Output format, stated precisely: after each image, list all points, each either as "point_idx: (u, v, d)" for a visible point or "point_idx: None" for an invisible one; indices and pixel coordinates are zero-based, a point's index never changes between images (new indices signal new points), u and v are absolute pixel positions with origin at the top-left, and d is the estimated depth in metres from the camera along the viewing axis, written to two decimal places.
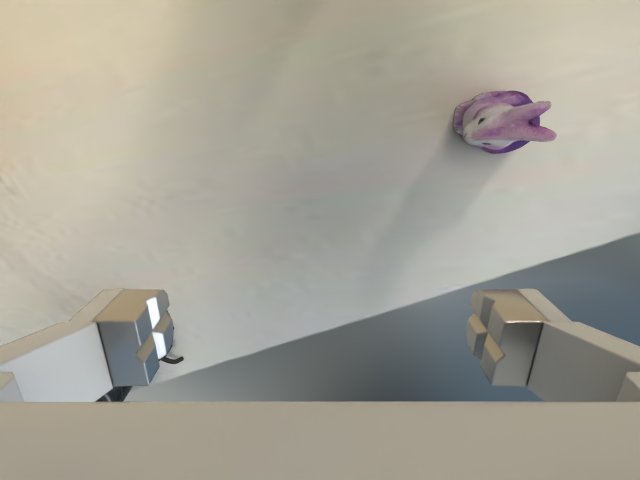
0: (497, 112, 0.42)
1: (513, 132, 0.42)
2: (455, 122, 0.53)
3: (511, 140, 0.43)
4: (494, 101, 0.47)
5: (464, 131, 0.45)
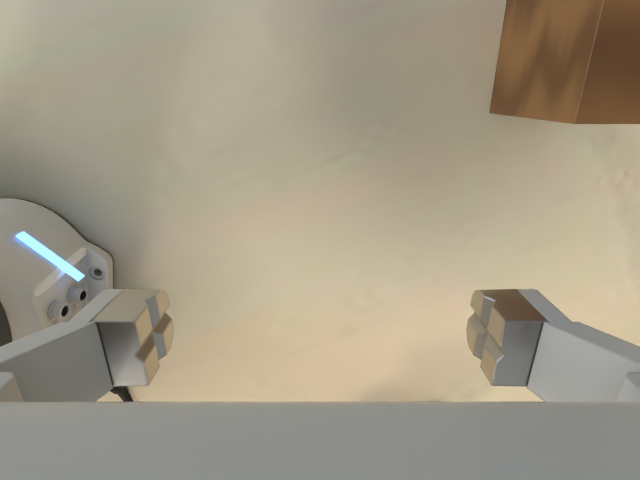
0: None
1: None
2: None
3: None
4: None
5: None
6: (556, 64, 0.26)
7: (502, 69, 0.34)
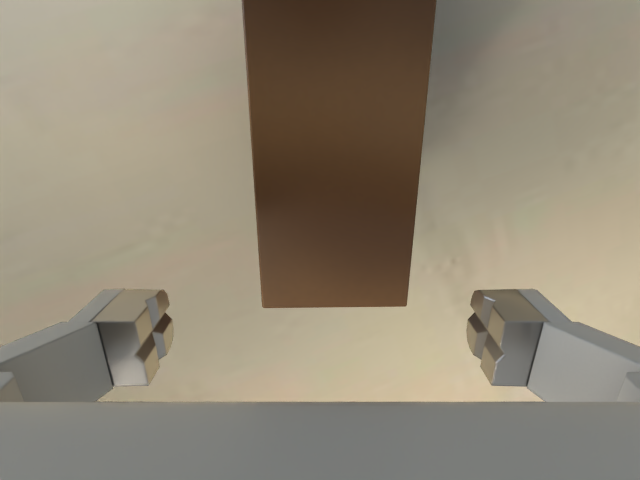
0: None
1: None
2: None
3: None
4: None
5: None
6: None
7: None
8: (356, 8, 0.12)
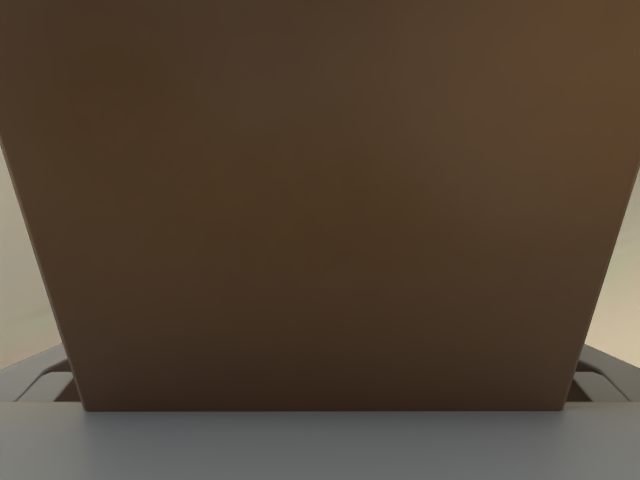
0: None
1: None
2: None
3: None
4: None
5: None
6: None
7: None
8: None
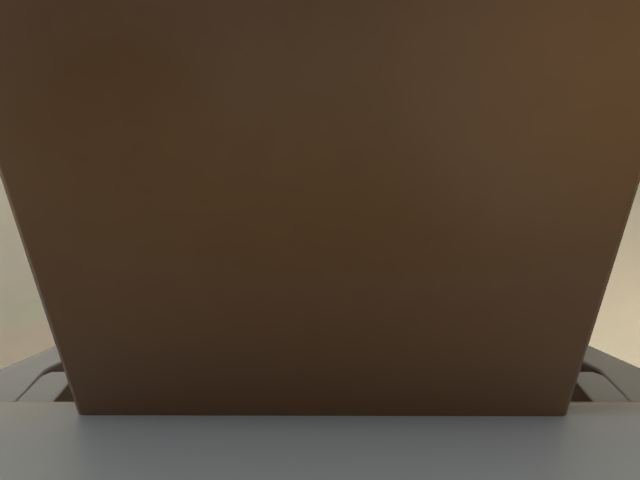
0: None
1: None
2: None
3: None
4: None
5: None
6: None
7: None
8: None
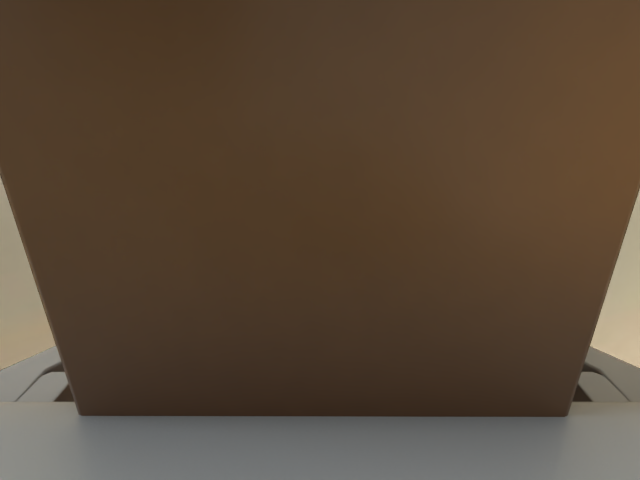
0: None
1: None
2: None
3: None
4: None
5: None
6: None
7: None
8: None
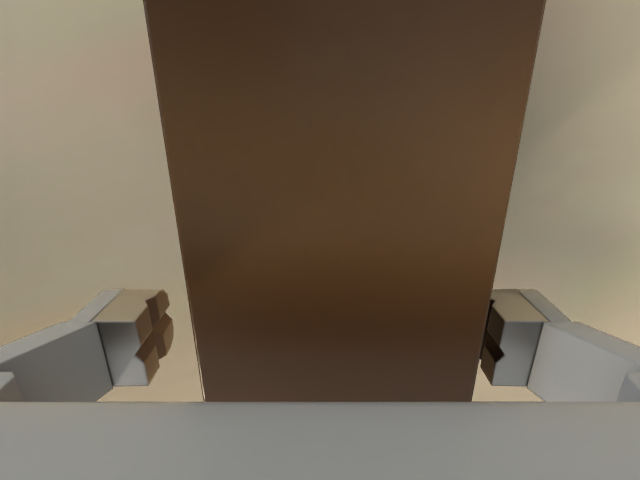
0: None
1: None
2: None
3: None
4: None
5: None
6: None
7: None
8: None
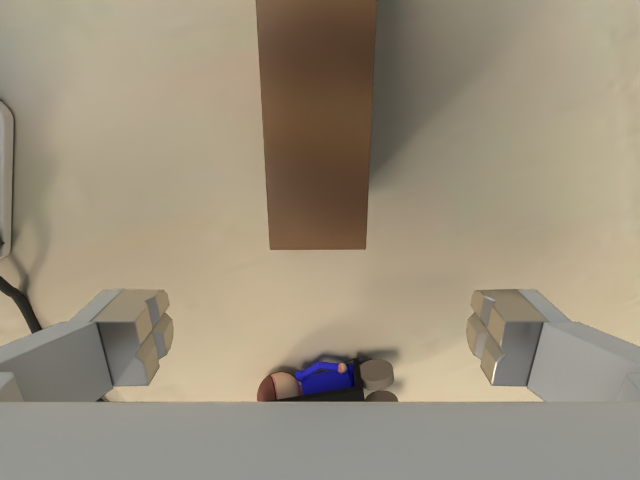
0: None
1: None
2: None
3: None
4: None
5: None
6: None
7: None
8: (326, 60, 0.20)
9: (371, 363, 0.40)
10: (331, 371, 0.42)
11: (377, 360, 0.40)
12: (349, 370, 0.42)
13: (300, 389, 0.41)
